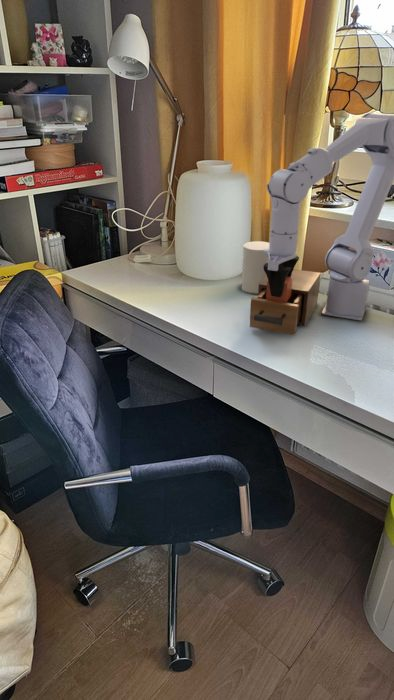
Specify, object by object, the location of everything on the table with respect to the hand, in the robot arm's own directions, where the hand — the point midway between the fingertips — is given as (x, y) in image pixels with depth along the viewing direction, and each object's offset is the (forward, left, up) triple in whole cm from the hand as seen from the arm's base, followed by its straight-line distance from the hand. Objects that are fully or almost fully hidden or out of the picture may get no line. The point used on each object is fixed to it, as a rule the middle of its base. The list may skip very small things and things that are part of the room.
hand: (279, 292), depth 106 cm
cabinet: (0, -10, -9) cm, 13 cm away
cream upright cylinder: (+12, -22, -9) cm, 27 cm away
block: (0, 0, -1) cm, 1 cm away
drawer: (0, 0, -8) cm, 8 cm away
